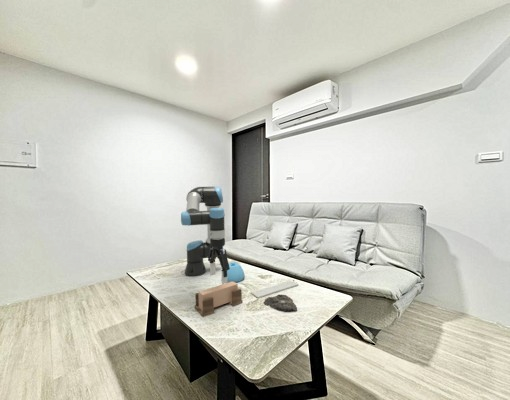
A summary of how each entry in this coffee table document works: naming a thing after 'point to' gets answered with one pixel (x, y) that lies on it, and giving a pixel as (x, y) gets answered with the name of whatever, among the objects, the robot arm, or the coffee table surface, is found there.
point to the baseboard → (274, 289)
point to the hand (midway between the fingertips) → (218, 278)
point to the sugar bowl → (235, 273)
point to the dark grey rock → (281, 303)
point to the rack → (208, 303)
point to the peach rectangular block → (218, 294)
